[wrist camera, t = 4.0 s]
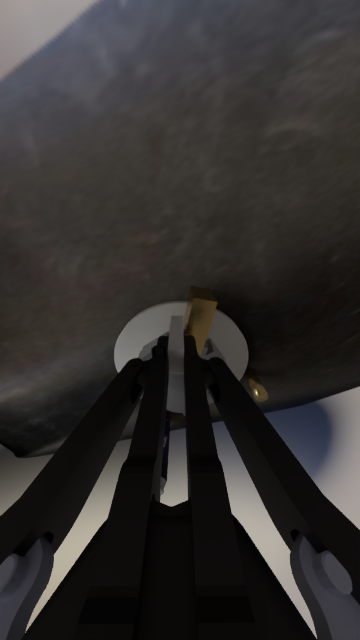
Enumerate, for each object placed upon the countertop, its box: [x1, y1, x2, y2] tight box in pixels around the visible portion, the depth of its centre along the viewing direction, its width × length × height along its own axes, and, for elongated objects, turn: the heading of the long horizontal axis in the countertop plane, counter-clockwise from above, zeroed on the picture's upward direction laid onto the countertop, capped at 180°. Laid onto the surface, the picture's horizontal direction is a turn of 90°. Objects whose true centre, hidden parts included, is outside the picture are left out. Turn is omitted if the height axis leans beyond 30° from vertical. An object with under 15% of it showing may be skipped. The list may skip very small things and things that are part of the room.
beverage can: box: [160, 411, 170, 495], centre depth 28 cm, size 6×6×12 cm
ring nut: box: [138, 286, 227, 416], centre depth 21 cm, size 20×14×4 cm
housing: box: [114, 300, 248, 413], centre depth 23 cm, size 22×22×8 cm
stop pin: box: [244, 369, 269, 402], centre depth 25 cm, size 2×2×5 cm
